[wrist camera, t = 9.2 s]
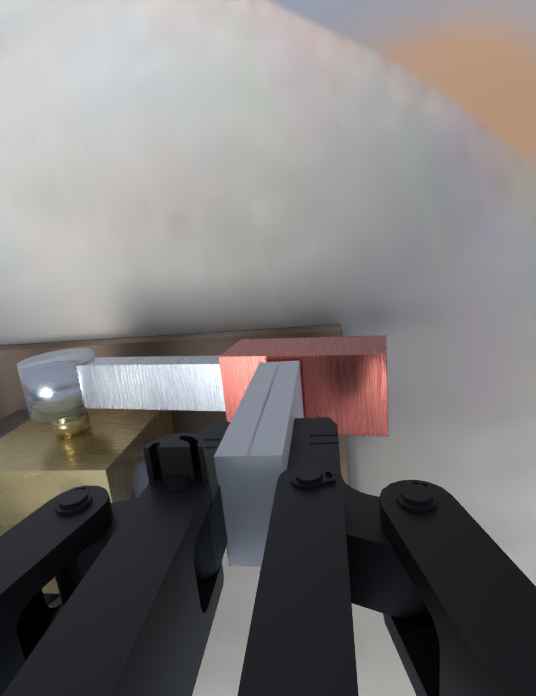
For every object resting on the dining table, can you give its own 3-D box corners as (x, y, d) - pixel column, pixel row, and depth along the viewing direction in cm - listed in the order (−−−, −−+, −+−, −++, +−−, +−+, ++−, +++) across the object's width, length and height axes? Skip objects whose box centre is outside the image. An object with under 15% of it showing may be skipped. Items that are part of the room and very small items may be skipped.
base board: (34, 509, 30) (20, 522, 29) (-9, 346, 27) (-28, 352, 26) (349, 509, 27) (350, 524, 25) (340, 324, 24) (341, 330, 22)
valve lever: (14, 426, 19) (388, 440, 15) (-3, 362, 18) (386, 356, 14) (64, 398, 22) (387, 403, 18) (51, 342, 21) (386, 333, 17)
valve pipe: (36, 483, 28) (-83, 588, 19) (10, 382, 26) (-134, 452, 18) (314, 480, 25) (309, 601, 17) (306, 368, 23) (296, 442, 15)
